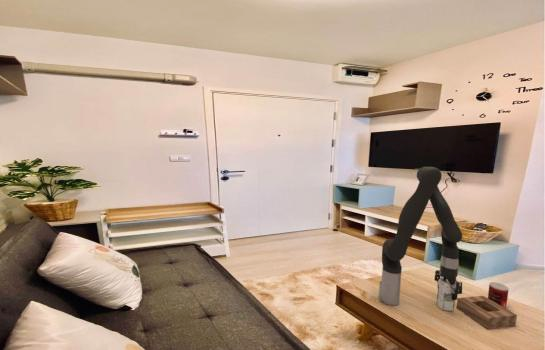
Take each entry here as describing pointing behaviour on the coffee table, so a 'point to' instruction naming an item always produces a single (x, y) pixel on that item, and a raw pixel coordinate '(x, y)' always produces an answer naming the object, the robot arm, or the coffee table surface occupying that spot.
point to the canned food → (498, 293)
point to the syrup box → (445, 296)
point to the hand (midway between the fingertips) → (446, 295)
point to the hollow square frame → (486, 312)
